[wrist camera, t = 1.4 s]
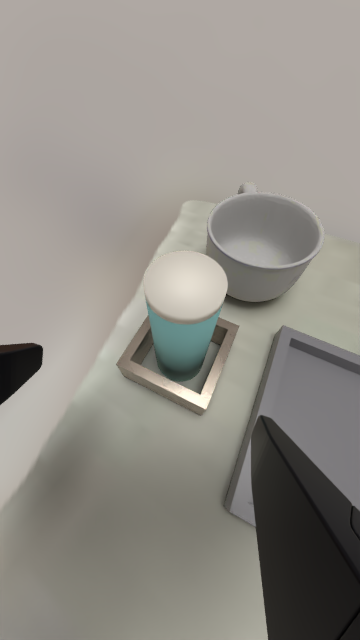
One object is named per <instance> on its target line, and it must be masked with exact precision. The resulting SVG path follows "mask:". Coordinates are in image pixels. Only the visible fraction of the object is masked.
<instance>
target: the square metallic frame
mask: <svg viewBox="0 0 360 640" xmlns="http://www.w3.org/2000/svg"><path fill="white" fill-rule="evenodd" d="M238 328H239V326H238V325H236V324H233V323H231V322H228V321H226V320H224V319H221V318H219V317H218V320H217V323H216V326H215V329H214V332H213V335H212V338H211V341H213V342H215V343H217V344H220V345H221V347H220V349H219V351H218V354H217V356H216V358H215V361H214V363H213V365H212V368H211V370H210V372H209V375H208V377H207V380H206V382H205V384H204V387H203V389H202V391H201V394H200V395H199V394H197V393H195V392H193V391H191V390H189V389H187V388H185V387H183V386H181V385H179V384H177V383H175V382H173V381H171V380H169V379H167V378H165V377H163V376H161V375H159V374H157V373H155V372H153V371H151V370H149V369H147V368H145V367H143V366H141V363H142V361H143V360H144V358H145V356H146V355H147V353H148V351H149V350H150V348H151V346H152V345H153V343H154V342H153V336H152V331H151V325H150V320H149V315H148V316H147V318H146V319H145V321H144V322H143V324H142V325H141V327H140V328H139V330H138V332H137V333H136V335H135V336H134V338H133V339H132V341H131V342H130V344H129V345H128V347H127V348H126V350H125V351H124V353H123V355H122V356H121V358H120V359H119V361H118V362H117V364H116V365H117V366H118V368H119V369H120V371H121V372H122V374H123V375H124V377H126V378H128V379H130V380H132V381H134V382H136V383H138V384H140V385H142V386H144V387H146V388H148V389H150V390H152V391H154V392H155V393H157V394H159V395H161V396H163V397H165V398H167V399H169V400H171V401H173V402H175V403H177V404H179V405H181V406H183V407H185V408H187V409H189V410H190V411H192V412H194V413H196V414H198V415H200V416H201V415H202V414H203V413H204V411H205V410H206V408H207V406H208V403H209V401H210V398H211V396H212V393H213V391H214V388H215V386H216V383H217V381H218V378H219V376H220V373H221V371H222V368H223V366H224V363H225V361H226V358H227V356H228V353H229V351H230V348H231V346H232V343H233V341H234V338H235V336H236V333H237V331H238Z"/></svg>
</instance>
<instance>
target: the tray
mask: <svg viewBox="0 0 360 640" xmlns="http://www.w3.org/2000/svg"><path fill="white" fill-rule="evenodd" d="M259 415H264V416H267V417H270V418H272V419H273V420H274V421H275V422H276V424H277V425H278V426H279V427H280V428H281V429H282V430H283V431H284V432H285V433H286V434H287V435H288V436H289V437H290V438H291V439H292V440H293V441H294V442H295V444H296V445H297V446H298V447H299V448H300V449H301V450H302V451H303V452H304V453H305V454H306V455H307V456H308V457H309V458H310V459H311V460H312V461H313V463H314V464H315V465H316V466H317V467H318V468H319V469H320V470H321V471H322V472H323V473H324V474H325V475H326V476H327V477H328V478H329V479H330V480H331V482H332V483H333V484H334V485H335V486H336V487H337V488H338V489H339V490H340V491H341V492H342V493H343V494H344V495H345V496H346V497H347V498H348V499H349V501H350V502H351V503H352V506H355V507H356V508H357V509H358V510H359V511H360V356H359V355H357V354H354V353H352V352H349V351H347V350H344V349H342V348H339V347H337V346H334V345H332V344H329V343H326V342H324V341H321V340H319V339H316V338H314V337H311V336H309V335H306V334H304V333H301V332H299V331H296V330H294V329H291V328H289V327H286V326H284V325H283V326H282V327H281V329H280V330H279V331H278V332H277V333H276V334H275V338H274V341H273V344H272V347H271V351H270V354H269V357H268V361H267V364H266V367H265V371H264V374H263V377H262V381H261V384H260V387H259V391H258V394H257V397H256V401H255V404H254V407H253V411H252V414H251V417H250V420H249V424H248V427H247V430H246V434H245V437H244V440H243V444H242V447H241V450H240V454H239V457H238V460H237V464H236V467H235V470H234V474H233V477H232V480H231V484H230V487H229V490H228V493H227V497H226V500H225V503H224V506H225V507H226V509H227V510H228V511H229V512H231V513H232V514H234V515H236V516H238V517H239V518H241V519H243V520H244V521H246V522H248V523H249V524H251V525H253V526H255V527H256V524H255V515H254V505H253V496H252V487H251V434H252V431H253V429H254V426H255V423H256V421H257V418H258V416H259Z"/></svg>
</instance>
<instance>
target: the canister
mask: <svg viewBox="0 0 360 640" xmlns="http://www.w3.org/2000/svg"><path fill="white" fill-rule="evenodd" d="M143 286H144V292H145V297H146V303H147V309H148V314H149V320H150V325H151V331H152V336H153V342H154V347H155V353H156V358H157V364H158V367H159V369H160V371H161V372H162V374H163V375H164V376H166V377H167V378H169V379H171V380H174V381H187V380H189V379H192V378H193V377H195V376H196V375H197V374H198V373H199V371H200V369H201V367H202V364H203V361H204V358H205V355H206V352H207V349H208V347H209V344H210V341H211V338H212V335H213V332H214V329H215V326H216V323H217V320H218V317H219V314H220V311H221V308H222V305H223V302H224V299H225V296H226V293H227V288H228V281H227V277H226V274H225V272H224V270H223V269H222V267H221V266H220V265H219V264H218V263H217V262H216V261H215V260H213V259H212V258H210V257H208V256H207V255H204V254H202V253H198V252H194V251H174V252H170V253H167V254H164V255H162V256H160V257H158V258H157V259H156V260H154V261H153V262H152V263H151V264H150V265H149V267H148V268H147V270H146V272H145V275H144V279H143Z"/></svg>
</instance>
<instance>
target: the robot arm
mask: <svg viewBox="0 0 360 640" xmlns="http://www.w3.org/2000/svg"><path fill="white" fill-rule="evenodd" d="M42 357H43V348H42V346H41V345H37V344H35V343H26V344H25V343H24V344H11V345H0V405H1V404H2V403H3V402H5V401H6V400H7V399H8V398H9V397H10V396H11V395H12V394H14V393H15V392H16V391H17V390H18V389H19V388H20V387H21V386H22V385H23V384H24V383H25V382H27V380H29V379H30V378H31V377H32V376H33V375H34V374H35V373H36V372H37V371H38V370H39V369H40V367H41V365H42ZM251 487H252V496H253V505H254V515H255V524H256V533H257V542H258V551H259V560H260V569H261V578H262V587H263V597H264V606H265V615H266V624H267V633H268V640H360V511H359V510H358V509H357V508H356V507H355V506H352V503H351V502H350V501H349V499H348V498H347V497H346V496H345V495H344V494H343V493H342V492H341V491H340V490H339V489H338V488H337V487H336V486H335V485H334V484H333V483H332V482H331V480H330V479H329V478H328V477H327V476H326V475H325V474H324V473H323V472H322V471H321V470H320V469H319V468H318V467H317V466H316V465H315V464H314V463H313V461H312V460H311V459H310V458H309V457H308V456H307V455H306V454H305V453H304V452H303V451H302V450H301V449H300V448H299V447H298V446H297V445H296V444H295V442H294V441H293V440H292V439H291V438H290V437H289V436H288V435H287V434H286V433H285V432H284V431H283V430H282V429H281V428H280V427H279V426H278V425H277V424H276V422H275V421H274V420H273V419H272V418H270V417H267V416H264V415H259V416H258V418H257V421H256V423H255V426H254V429H253V431H252V434H251Z"/></svg>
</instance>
